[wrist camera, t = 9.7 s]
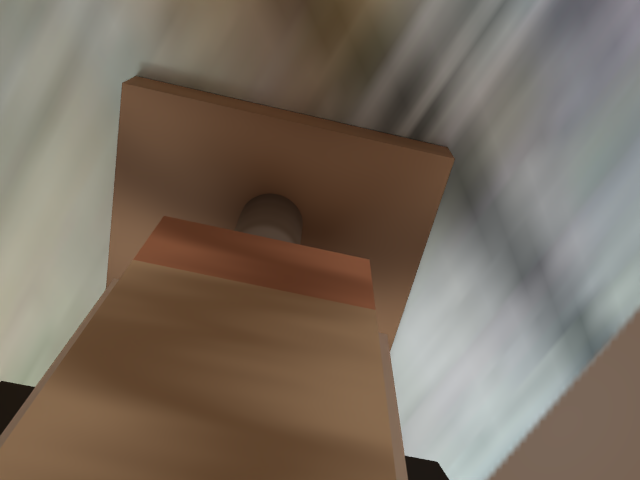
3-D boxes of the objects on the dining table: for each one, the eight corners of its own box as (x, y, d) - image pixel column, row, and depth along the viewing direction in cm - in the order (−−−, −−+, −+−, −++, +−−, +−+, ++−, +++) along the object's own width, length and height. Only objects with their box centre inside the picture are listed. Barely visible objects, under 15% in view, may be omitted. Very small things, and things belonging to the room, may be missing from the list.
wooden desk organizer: (135, 75, 21) (-87, 195, 10) (447, 147, 22) (565, 330, 11) (101, 466, 30) (-42, 771, 18) (329, 506, 31) (327, 822, 19)
